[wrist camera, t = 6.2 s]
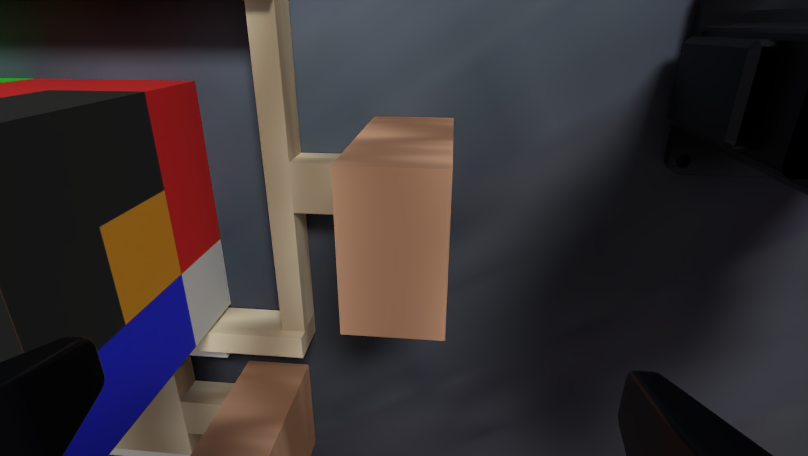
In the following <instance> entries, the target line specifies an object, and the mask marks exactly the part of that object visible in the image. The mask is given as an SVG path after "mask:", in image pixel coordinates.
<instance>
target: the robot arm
mask: <svg viewBox="0 0 808 456" xmlns="http://www.w3.org/2000/svg"><path fill="white" fill-rule="evenodd" d="M667 118H668V119H669V120H670V121H671V123H672V126H671V130H670V135H669V139H668V144H667V148H666V153H665V157H664V163H665V165H666V167H667V168H668V169H669V170H671V171H672V172H674V173H676V174H683V175H716V176H748V177H771V178H774V179H776V180H778V181H780V182H782V183H784V184H786V185H788V186H790V187H792V188H794V189H796V190H798V191H800V192H803V193H805V194H807V195H808V0H699V4H698V8H697V13H696V17H695V22H694V26H693V31H692V35H691V37H690V38H689V39H688V40H687V41H686V42H685V43H684V44H683V45H682V50H681V54H680V59H679V64H678V68H677V73H676V77H675V82H674V87H673V91H672V96H671V101H670V105H669V110H668V114H667ZM682 154H686V159H685V161H684V162H683V163H682V164H680V165H676V159H677V158H678V157H679V156H680V155H682ZM104 381H105V375H104V371H103V368H102V365H101V361H100V358H99V355H98V351H97V348H96V345H95V343H94V342H93V341H92V340H91V339H89V338H85V337H64V338H61V339H58V340H56V341H53V342H50V343H48V344H45V345H43V346H40V347H38V348H35V349H33V350H30V351H28V352H25V353H23V354H20V355H18V356H15V357H13V358H10V359H8V360H5V361H3V362H0V456H63V455H64V453H65V451H66V450H67V448H68V446H69V445H70V443H71V441H72V440H73V438H74V436H75V435H76V433H77V431H78V430H79V428H80V426H81V425H82V423H83V421H84V419H85V418H86V416H87V414H88V413H89V411H90V409H91V408H92V406H93V404H94V403H95V401H96V399H97V398H98V396H99V394H100V393H101V391H102V389H103V386H104ZM618 420H619V427H620V431H621V435H622V439H623V443H624V447H625V451H626V456H773V455H771V454H770V453H768V452H767V451H766V450H764V449H763V448H762V447H760V446H759V445H757V444H756V443H755V442H753V441H752V440H751V439H749V438H748V437H746V436H745V435H744V434H742V433H741V432H739V431H738V430H737V429H735V428H734V427H733V426H731V425H730V424H728V423H727V422H726V421H724V420H723V419H721V418H720V417H719V416H717V415H716V414H715V413H713V412H712V411H710V410H709V409H708V408H706V407H705V406H704V405H702V404H701V403H699V402H698V401H697V400H695V399H694V398H692V397H691V396H690V395H688V394H687V393H686V392H684V391H683V390H681V389H680V388H679V387H677V386H676V385H674V384H673V383H672V382H670V381H669V380H668V379H666V378H665V377H663V376H662V375H660V374H659V373H656V372H648V371H631V372H630V373H628V375H627V377H626V380H625V385H624V389H623V394H622V398H621V403H620V407H619V413H618Z"/></svg>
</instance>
